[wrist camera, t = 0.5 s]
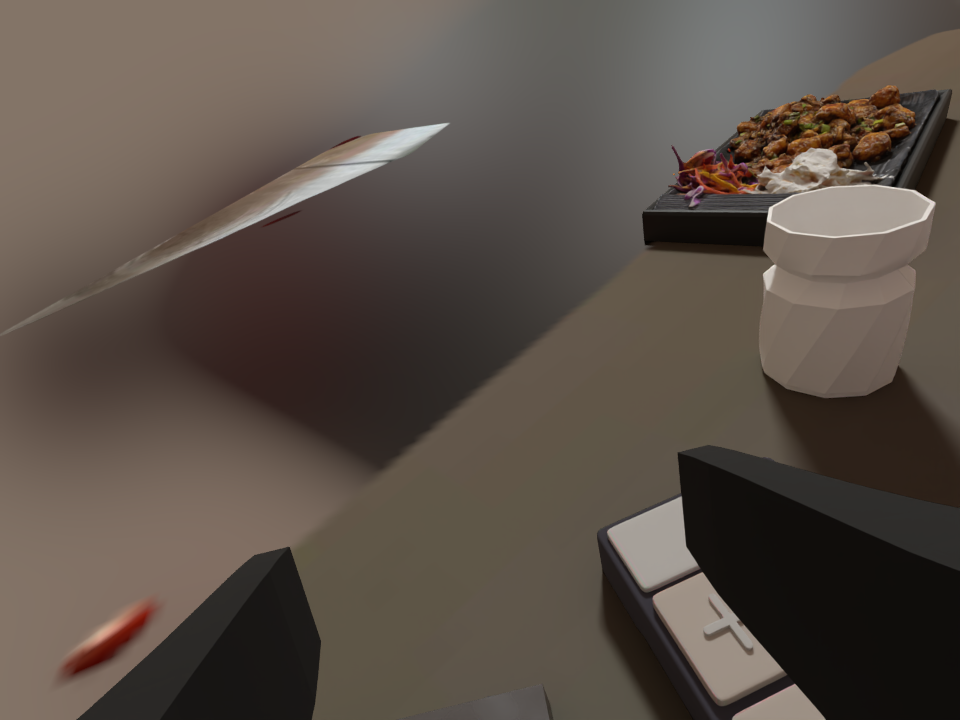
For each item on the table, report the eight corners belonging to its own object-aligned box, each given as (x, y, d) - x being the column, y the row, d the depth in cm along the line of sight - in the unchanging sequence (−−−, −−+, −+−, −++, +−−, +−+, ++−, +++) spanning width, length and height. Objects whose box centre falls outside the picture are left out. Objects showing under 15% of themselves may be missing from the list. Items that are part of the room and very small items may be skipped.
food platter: (886, 258, 49) (907, 147, 43) (644, 245, 65) (638, 163, 59) (945, 122, 73) (963, 41, 68) (760, 137, 89) (762, 72, 84)
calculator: (838, 916, 15) (591, 521, 27) (816, 936, 17) (599, 566, 29) (1131, 745, 16) (768, 444, 28) (1071, 787, 18) (761, 493, 31)
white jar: (841, 321, 42) (864, 175, 35) (930, 380, 34) (979, 208, 28) (735, 348, 42) (739, 208, 36) (800, 412, 35) (819, 251, 28)
